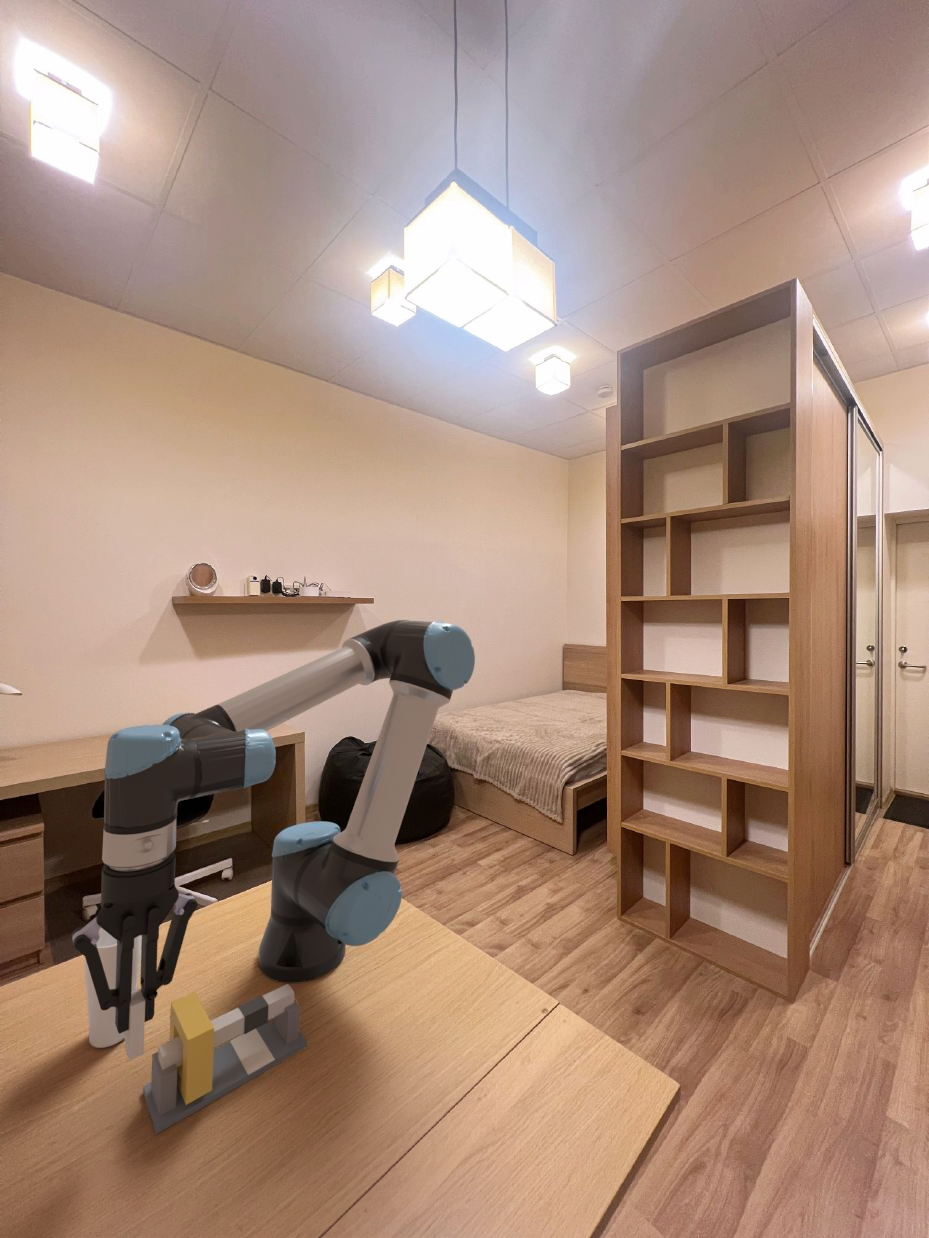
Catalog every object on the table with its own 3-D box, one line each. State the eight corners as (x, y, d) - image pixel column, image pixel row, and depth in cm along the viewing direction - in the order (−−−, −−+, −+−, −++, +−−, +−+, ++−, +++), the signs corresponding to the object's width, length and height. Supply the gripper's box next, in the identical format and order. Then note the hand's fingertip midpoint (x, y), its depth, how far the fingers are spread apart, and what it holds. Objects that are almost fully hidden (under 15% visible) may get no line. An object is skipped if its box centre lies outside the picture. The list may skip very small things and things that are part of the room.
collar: (168, 1061, 69) (170, 1001, 69) (193, 1048, 71) (195, 991, 71) (185, 1104, 63) (188, 1040, 63) (212, 1090, 65) (214, 1027, 65)
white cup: (149, 1027, 76) (152, 927, 76) (100, 1062, 70) (104, 953, 70) (120, 1010, 79) (123, 914, 79) (71, 1043, 73) (74, 938, 73)
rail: (143, 1092, 66) (145, 1036, 66) (285, 1017, 79) (287, 970, 79) (156, 1134, 61) (158, 1073, 61) (306, 1046, 74) (308, 997, 74)
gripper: (76, 888, 55) (70, 1106, 55) (207, 852, 64) (201, 1040, 64) (68, 861, 60) (62, 1059, 61) (190, 832, 69) (184, 1005, 69)
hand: (133, 1049), depth 62 cm, fingers closed
